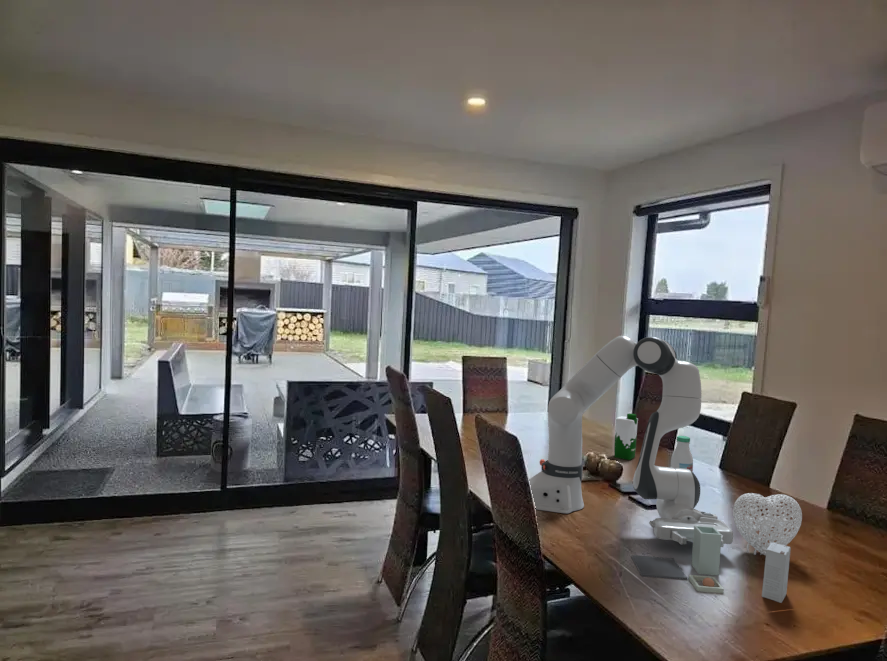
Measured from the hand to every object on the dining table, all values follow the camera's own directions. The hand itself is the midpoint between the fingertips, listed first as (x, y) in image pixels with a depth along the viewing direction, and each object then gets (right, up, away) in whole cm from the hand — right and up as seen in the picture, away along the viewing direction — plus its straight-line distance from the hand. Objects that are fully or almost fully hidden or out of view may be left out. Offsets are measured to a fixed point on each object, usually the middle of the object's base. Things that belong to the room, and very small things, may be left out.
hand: (702, 543), depth 150 cm
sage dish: (-5, -7, -12) cm, 14 cm away
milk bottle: (+21, -4, +65) cm, 69 cm away
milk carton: (+14, -2, +109) cm, 110 cm away
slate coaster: (-13, -6, -3) cm, 14 cm away
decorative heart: (+21, -7, +9) cm, 24 cm away
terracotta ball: (-5, -6, -12) cm, 14 cm away
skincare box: (+10, -7, -15) cm, 20 cm away
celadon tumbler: (-1, -6, -3) cm, 7 cm away
